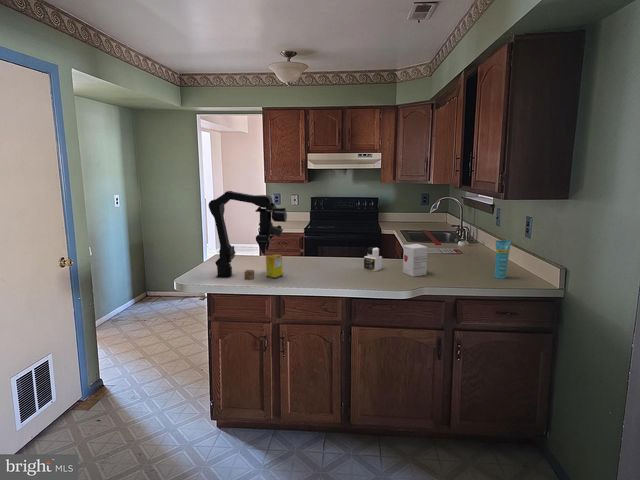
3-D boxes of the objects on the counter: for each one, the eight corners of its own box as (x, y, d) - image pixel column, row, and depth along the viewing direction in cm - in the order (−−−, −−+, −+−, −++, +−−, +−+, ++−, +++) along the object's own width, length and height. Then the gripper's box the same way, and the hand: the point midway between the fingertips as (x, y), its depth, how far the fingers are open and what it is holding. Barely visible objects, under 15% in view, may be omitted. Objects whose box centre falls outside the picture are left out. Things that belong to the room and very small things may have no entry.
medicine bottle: (363, 269, 223) (363, 247, 221) (371, 266, 228) (371, 245, 226) (374, 271, 218) (374, 249, 216) (382, 269, 223) (382, 247, 221)
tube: (495, 279, 204) (498, 241, 200) (490, 276, 209) (493, 239, 205) (509, 278, 204) (513, 241, 201) (505, 276, 209) (508, 239, 205)
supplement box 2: (402, 272, 216) (403, 244, 214) (416, 270, 220) (417, 243, 217) (412, 277, 208) (413, 248, 205) (426, 275, 212) (428, 246, 209)
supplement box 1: (274, 274, 214) (274, 253, 212) (282, 276, 210) (282, 255, 208) (266, 276, 209) (265, 256, 207) (274, 279, 206) (273, 257, 203)
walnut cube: (244, 279, 205) (244, 272, 204) (246, 277, 209) (246, 269, 208) (252, 279, 204) (252, 272, 204) (254, 277, 208) (254, 270, 208)
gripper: (278, 224, 193) (278, 256, 196) (284, 218, 211) (284, 248, 215) (255, 223, 194) (255, 255, 197) (262, 218, 212) (262, 247, 215)
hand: (265, 251), depth 206 cm, fingers open, 9 cm apart
